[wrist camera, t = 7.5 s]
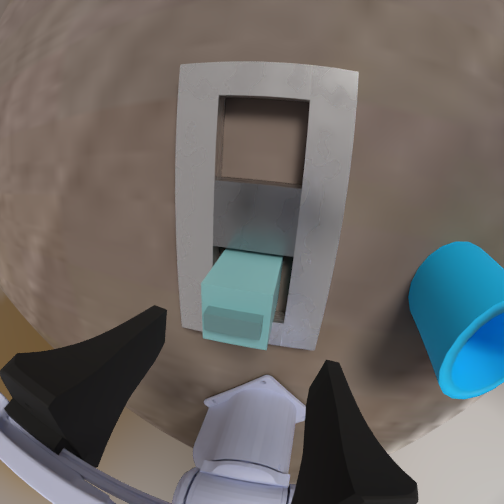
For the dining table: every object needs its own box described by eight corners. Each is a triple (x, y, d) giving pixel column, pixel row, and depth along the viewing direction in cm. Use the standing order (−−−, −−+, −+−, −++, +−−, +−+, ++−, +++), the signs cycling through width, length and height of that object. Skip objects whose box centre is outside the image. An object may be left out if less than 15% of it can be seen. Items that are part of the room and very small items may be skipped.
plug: (278, 298, 22) (264, 358, 16) (227, 290, 23) (198, 346, 17) (284, 251, 21) (271, 303, 15) (229, 243, 21) (196, 290, 15)
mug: (389, 290, 20) (416, 364, 13) (465, 219, 17) (527, 267, 9) (450, 362, 22) (474, 426, 14) (511, 310, 18) (550, 364, 11)
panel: (314, 338, 23) (314, 350, 22) (188, 317, 25) (181, 327, 23) (354, 76, 15) (358, 71, 14) (189, 68, 17) (180, 64, 15)
